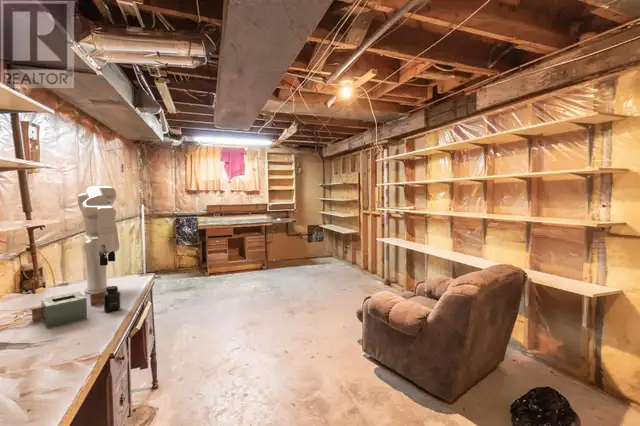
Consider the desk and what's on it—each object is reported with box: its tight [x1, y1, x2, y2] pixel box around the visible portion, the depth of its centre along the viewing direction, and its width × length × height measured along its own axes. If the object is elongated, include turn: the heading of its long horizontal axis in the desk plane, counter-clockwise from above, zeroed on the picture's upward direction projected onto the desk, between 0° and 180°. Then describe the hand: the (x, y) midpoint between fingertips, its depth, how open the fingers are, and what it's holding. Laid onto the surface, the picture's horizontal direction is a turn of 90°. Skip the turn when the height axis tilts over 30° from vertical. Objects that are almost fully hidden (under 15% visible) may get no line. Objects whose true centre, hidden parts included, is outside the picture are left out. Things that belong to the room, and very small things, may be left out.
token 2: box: [89, 291, 106, 307], centre depth 161 cm, size 3×6×6 cm, turn 140°
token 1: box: [31, 305, 43, 322], centre depth 140 cm, size 3×6×6 cm, turn 140°
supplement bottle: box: [103, 285, 121, 314], centre depth 151 cm, size 7×7×12 cm
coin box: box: [40, 291, 88, 329], centre depth 140 cm, size 14×14×10 cm
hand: (107, 263), depth 156 cm, fingers open, 9 cm apart
